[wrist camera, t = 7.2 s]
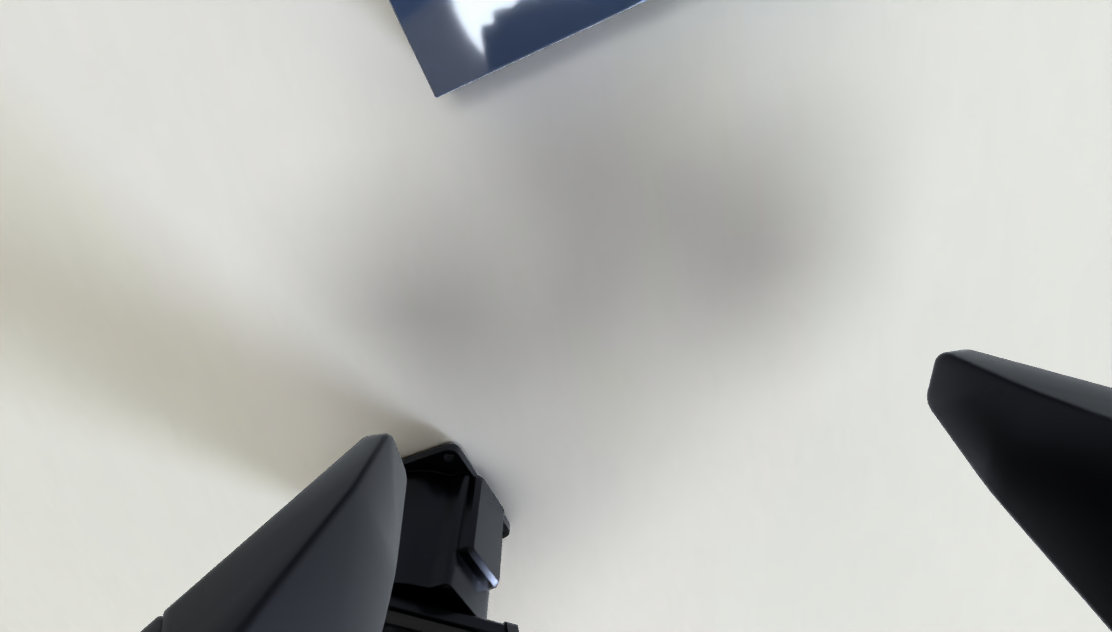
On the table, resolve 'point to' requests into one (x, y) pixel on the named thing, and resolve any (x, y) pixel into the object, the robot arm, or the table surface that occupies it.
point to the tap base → (491, 32)
